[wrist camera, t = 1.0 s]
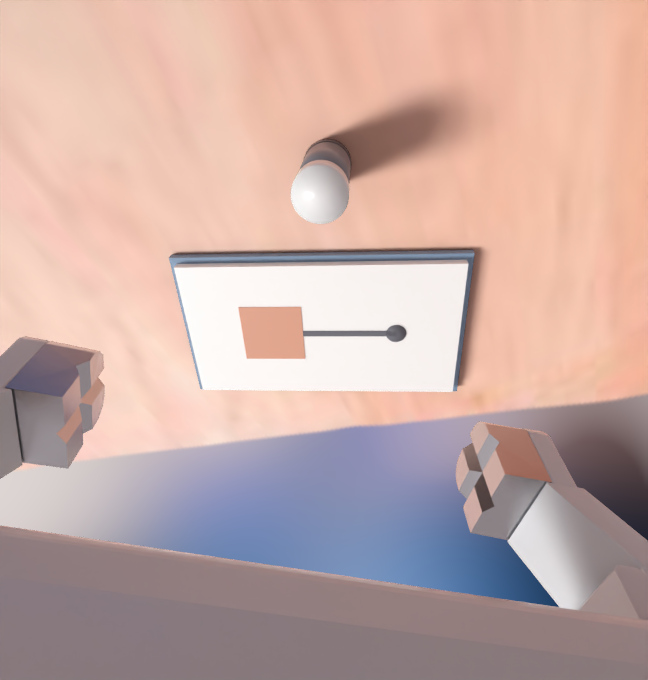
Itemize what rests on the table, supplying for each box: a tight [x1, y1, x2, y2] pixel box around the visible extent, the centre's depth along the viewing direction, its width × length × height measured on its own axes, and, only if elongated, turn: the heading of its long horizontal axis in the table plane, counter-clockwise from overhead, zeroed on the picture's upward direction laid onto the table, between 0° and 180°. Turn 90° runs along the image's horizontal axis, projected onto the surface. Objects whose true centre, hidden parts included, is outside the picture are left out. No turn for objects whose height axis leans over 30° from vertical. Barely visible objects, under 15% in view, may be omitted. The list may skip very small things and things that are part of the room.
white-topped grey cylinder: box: [291, 139, 351, 224], centre depth 31 cm, size 3×3×7 cm
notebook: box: [169, 250, 475, 392], centre depth 41 cm, size 23×13×1 cm, turn 93°
